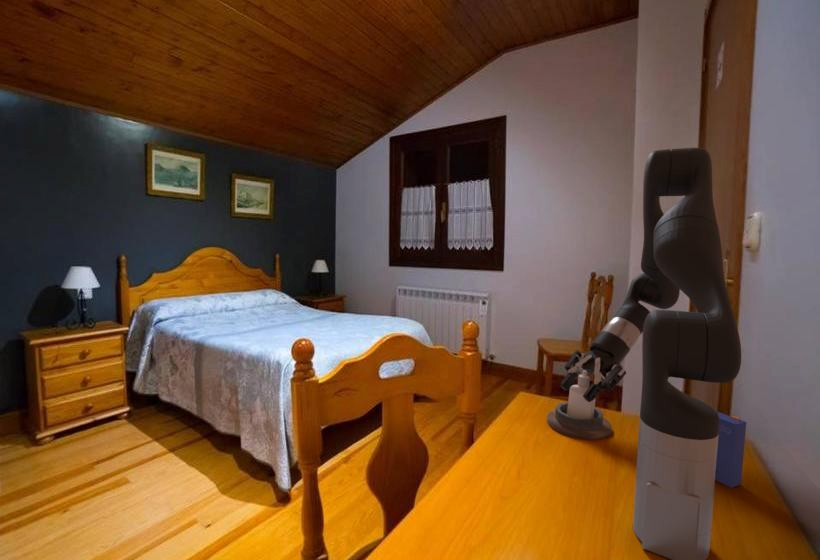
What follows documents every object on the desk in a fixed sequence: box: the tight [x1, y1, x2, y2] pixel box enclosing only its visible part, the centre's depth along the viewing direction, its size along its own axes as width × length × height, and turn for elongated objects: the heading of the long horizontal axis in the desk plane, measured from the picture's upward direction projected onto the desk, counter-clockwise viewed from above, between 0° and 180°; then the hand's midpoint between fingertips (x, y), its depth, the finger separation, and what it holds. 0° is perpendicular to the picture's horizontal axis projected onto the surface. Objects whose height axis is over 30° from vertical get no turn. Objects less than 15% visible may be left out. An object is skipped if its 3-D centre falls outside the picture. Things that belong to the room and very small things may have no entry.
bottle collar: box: [546, 401, 613, 441], centre depth 93 cm, size 14×14×4 cm
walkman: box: [715, 410, 747, 489], centre depth 73 cm, size 8×3×12 cm, turn 20°
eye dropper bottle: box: [567, 370, 596, 419], centre depth 93 cm, size 4×6×12 cm
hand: (574, 393), depth 92 cm, fingers open, 6 cm apart
